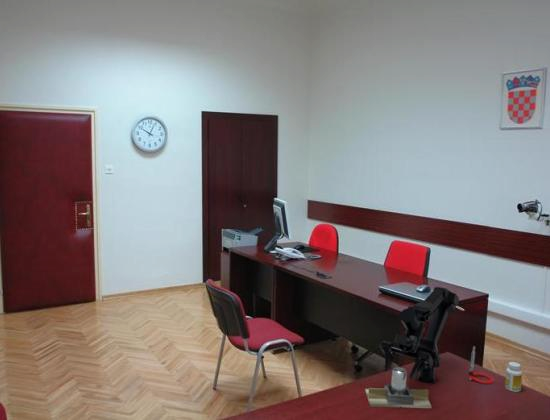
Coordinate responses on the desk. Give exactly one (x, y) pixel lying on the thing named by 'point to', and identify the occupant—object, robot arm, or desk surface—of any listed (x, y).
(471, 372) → the tow hook
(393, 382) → the silver metal cylinder
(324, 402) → the desk surface
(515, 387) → the supplement bottle
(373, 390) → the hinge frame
